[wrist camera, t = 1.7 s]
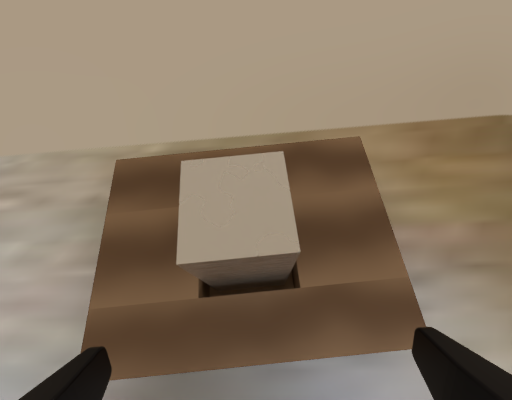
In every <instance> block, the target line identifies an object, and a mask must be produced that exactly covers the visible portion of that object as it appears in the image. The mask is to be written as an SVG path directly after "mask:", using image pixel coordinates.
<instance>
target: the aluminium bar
mask: <svg viewBox="0 0 512 400" xmlns="http://www.w3.org/2000/svg"><path fill="white" fill-rule="evenodd" d="M300 252H301V251H300V246H299V240H298V234H297V228H296V222H295V216H294V211H293V205H292V199H291V193H290V187H289V182H288V176H287V170H286V164H285V158H284V152H283V151H279V152H269V153H259V154H248V155H238V156H228V157H217V158H207V159H197V160H186V161H181V174H180V196H179V217H178V238H177V259H176V265H178V266H179V267H181V268H183V269H184V270H186V271H187V272H189V273H191V274H192V275H194V276H195V277H197V278H199V279H200V280H202V281H203V282H205V283H206V284H208V285H210V286H211V287H213V288H214V289H216V290H218V291H226V290H236V289H245V288H255V287H265V286H275V285H284V284H285V282H286V280H287V278H288V276H289V274H290V272H291V270H292V268H293V266H294V264H295V262H296V260H297V258H298V256H299V254H300Z"/></svg>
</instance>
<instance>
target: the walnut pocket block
mask: <svg viewBox="0 0 512 400" xmlns="http://www.w3.org/2000/svg"><path fill="white" fill-rule="evenodd" d="M279 151H283V152H284V158H285V164H286V170H287V176H288V182H289V187H290V193H291V199H292V205H293V211H294V216H295V222H296V228H297V234H298V240H299V246H300V251H301V252H300V254H299V256H298V258H297V260H296V262H295V264H294V266H293V268H292V270H291V272H290V274H289V276H288V278H287V280H286V282H285V284H284V285H275V286H265V287H255V288H245V289H236V290H226V291H218V290H216V289H214V288H213V287H211V286H210V285H208V284H206V283H205V282H203V281H202V280H200V279H199V278H197V277H195V276H194V275H192V274H191V273H189V272H187V271H186V270H184V269H183V268H181V267H179V266H178V265H176V259H177V238H178V217H179V196H180V174H181V161H186V160H197V159H207V158H217V157H228V156H238V155H248V154H259V153H269V152H279ZM418 327H426V325H425V322H424V319H423V316H422V313H421V311H420V308H419V305H418V302H417V299H416V296H415V293H414V290H413V288H412V285H411V282H410V279H409V276H408V273H407V270H406V267H405V265H404V262H403V259H402V256H401V253H400V250H399V247H398V244H397V242H396V239H395V236H394V233H393V230H392V227H391V224H390V221H389V219H388V216H387V213H386V210H385V207H384V204H383V201H382V199H381V196H380V193H379V190H378V187H377V184H376V181H375V178H374V176H373V173H372V170H371V167H370V164H369V161H368V158H367V155H366V153H365V150H364V147H363V144H362V141H361V138H360V136H358V137H348V138H338V139H328V140H317V141H307V142H297V143H286V144H276V145H266V146H255V147H245V148H235V149H224V150H214V151H204V152H193V153H183V154H173V155H162V156H152V157H142V158H131V159H121V160H116V164H115V169H114V175H113V180H112V186H111V191H110V197H109V202H108V207H107V213H106V218H105V224H104V229H103V235H102V240H101V245H100V251H99V256H98V262H97V267H96V273H95V278H94V283H93V289H92V294H91V300H90V305H89V311H88V316H87V321H86V327H85V332H84V338H83V343H82V349H81V353H82V352H83V351H85V350H86V349H87V348H89V347H98V346H103V347H105V348H106V350H107V353H108V356H109V360H110V363H111V367H112V372H111V377H110V380H118V379H128V378H138V377H147V376H157V375H167V374H176V373H186V372H196V371H205V370H215V369H224V368H234V367H244V366H253V365H263V364H273V363H282V362H292V361H301V360H311V359H321V358H330V357H340V356H350V355H359V354H369V353H379V352H388V351H398V350H407V349H412V345H413V338H414V332H415V329H416V328H418Z"/></svg>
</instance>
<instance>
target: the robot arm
mask: <svg viewBox="0 0 512 400" xmlns="http://www.w3.org/2000/svg"><path fill="white" fill-rule="evenodd" d="M412 354H413V357H414V360H415V362H416V364H417V366H418V368H419V370H420V372H421V374H422V376H423V378H424V380H425V382H426V384H427V387H428V389H429V391H430V393H431V395H432V397H433V399H434V400H512V375H511V374H509V373H508V372H506V371H504V370H503V369H501V368H499V367H498V366H496V365H494V364H493V363H491V362H489V361H488V360H486V359H484V358H483V357H481V356H479V355H478V354H476V353H474V352H473V351H471V350H469V349H468V348H466V347H464V346H463V345H461V344H459V343H458V342H456V341H454V340H453V339H451V338H449V337H448V336H446V335H444V334H443V333H441V332H439V331H438V330H436V329H434V328H432V327H418V328H416V329H415V332H414V338H413V345H412ZM111 372H112V367H111V363H110V360H109V356H108V353H107V350H106V348H105V347H103V346H98V347H89V348H87V349H86V350H85V351H83V352H82V353H81V354H79V355H78V356H76V357H75V358H74V359H72V360H71V361H70V362H68V363H67V364H66V365H64V366H63V367H62V368H60V369H59V370H58V371H56V372H55V373H54V374H52V375H51V376H50V377H48V378H47V379H46V380H44V381H43V382H42V383H40V384H39V385H38V386H36V387H35V388H33V389H32V390H31V391H29V392H28V393H27V394H25V395H24V396H23V397H21V398H20V399H19V400H102V398H103V396H104V393H105V390H106V388H107V385H108V382H109V380H110V377H111Z"/></svg>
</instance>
